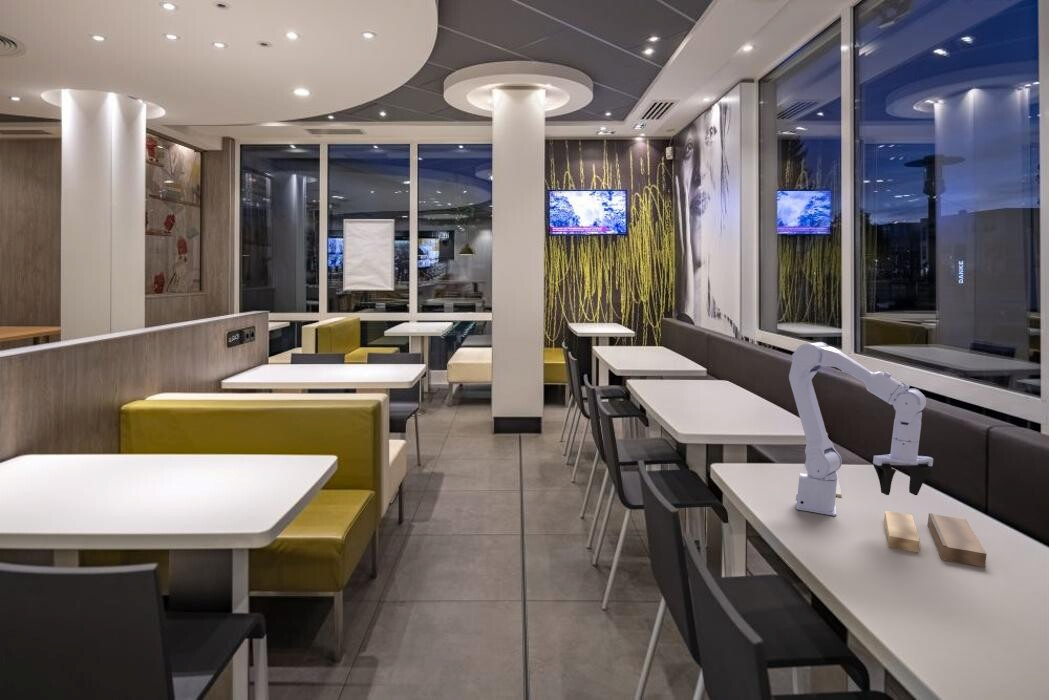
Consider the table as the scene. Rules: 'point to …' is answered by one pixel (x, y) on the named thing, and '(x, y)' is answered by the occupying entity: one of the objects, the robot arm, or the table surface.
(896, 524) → the oak plank
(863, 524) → the table surface
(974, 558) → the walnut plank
